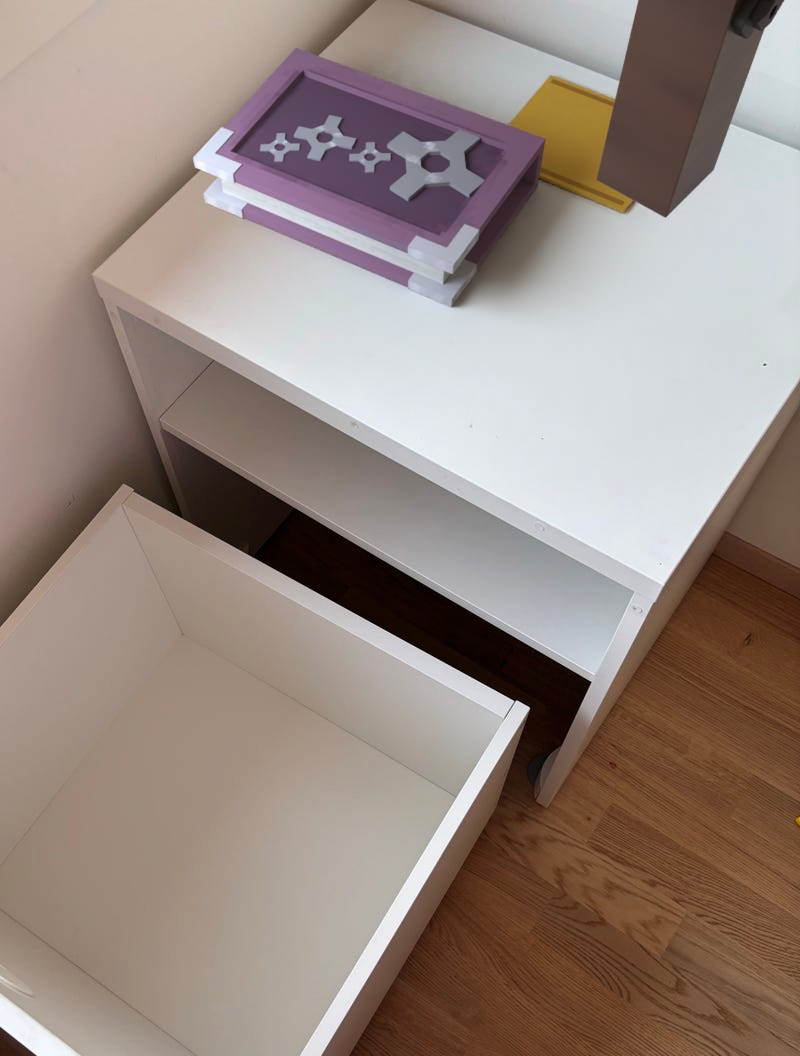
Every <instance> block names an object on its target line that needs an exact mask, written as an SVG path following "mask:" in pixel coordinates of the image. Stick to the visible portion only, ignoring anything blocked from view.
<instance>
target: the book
mask: <svg viewBox="0 0 800 1056" xmlns="http://www.w3.org/2000/svg"><path fill="white" fill-rule="evenodd" d="M544 145H545V138H542V137H539V136H537V135H534V134H531V133H528V132H526V131H523V130H520V129H517V128H515V127H512V126H509V124H507V123H503V122H501V121H498V120H495V119H492V118H490V117H488V116H484V115H481V114H480V113H476V112H474V111H471V110H467V109H465V108H463V107H460V106H456V105H454V104H451V103H449V102H446V101H443V100H440V99H438V98H435V97H432V96H429V95H427V94H423V93H421V92H418V91H415V90H413V89H410V88H407V87H405V86H402V85H399V84H397V83H395V82H391V81H389V80H385V79H383V78H380V77H376V76H374V75H372V74H369V73H366V72H364V71H361V70H357V69H355V68H353V67H349V66H347V65H344V64H342V63H338V62H335V61H333V60H330V59H328V58H326V57H322V56H319V55H316V54H313V53H312V52H308V51H307V50H303V49H300V48H296V47H295V48H294V49H293V50H292V51H291V52H290V54H288V56H287V57H286V58H285V59H284V60H283V61H282V62H281V64H280V65H278V67H277V68H276V69H275V70H274V71H273V72H272V73H271V74H270V75H269V77H268V78H266V80H265V81H264V82H263V83H262V85H261V86H259V88H257V90H256V91H255V92H254V93H253V94H252V95H251V96H250V97H249V99H247V100H246V102H245V103H244V104H243V105H242V106H241V107H240V109H239V110H238V111H237V112H236V113H235V114H234V115H233V116H232V117H231V118H230V119H229V121H228V122H227V123H226V124H225V125H224V126H220V128H219V129H218V130H217V131H216V132H215V133H214V134H213V135H212V137H211V138H210V139H209V140H208V141H207V142H206V143H205V144H204V145H203V146H202V147H201V148H200V150H199V151H197V153H196V154H195V155H194V156H193V157H192V160H193V164H194V168H195V169H198V170H200V171H203V172H205V173H208V174H210V175H212V176H214V177H217V178H215V180H213V182H212V183H211V184H210V185H209V186H208V188H206V190H205V191H204V192H203V194H202V195H203V199H204V200H203V201H204V203H206V204H208V205H211V206H213V207H215V208H216V209H220V210H222V211H223V212H226V213H229V214H232V215H233V216H236V217H239V218H240V219H246V220H249V221H250V222H251V221H252V222H253V223H257V224H258V225H261V226H263V227H265V228H268V229H270V230H272V231H275V232H277V233H280V234H281V235H284V236H286V237H289V238H291V239H293V240H296V241H298V242H301V243H303V244H305V245H308V246H310V247H312V248H314V249H317V250H319V251H322V252H324V253H326V254H329V255H330V256H334V257H336V258H338V259H341V260H343V261H345V262H348V263H350V264H353V265H355V266H357V267H359V268H361V269H364V270H366V271H369V272H371V273H374V274H376V275H378V276H380V277H382V278H385V279H388V280H390V281H392V282H394V283H397V284H399V285H402V286H405V287H406V288H407V289H409V290H411V291H413V292H415V293H417V294H420V295H422V296H424V297H427V298H429V299H431V300H433V301H436V302H438V303H440V304H443V305H444V306H448V307H449V308H452V307H453V306H454V304H455V303H456V302H457V300H458V299H459V297H460V296H461V295H462V293H463V292H464V290H465V289H466V287H467V286H468V285H469V283H470V282H471V281H472V279H473V278H474V276H475V275H476V274H477V271H478V269H479V268H480V267H481V265H482V264H483V263H484V262H485V259H486V258H487V257H488V256H489V254H490V253H491V252H492V251H493V249H494V247H495V246H496V244H497V243H498V242H499V240H500V239H501V237H502V236H503V234H504V233H505V232H506V231H507V229H509V226H510V225H511V224H512V223H513V221H514V220H515V218H516V217H517V215H518V214H519V213H520V211H521V210H522V208H524V206H525V205H526V203H527V202H528V200H529V199H530V198H531V196H532V194H534V192H535V191H536V189H537V188H538V186H539V181H540V178H539V175H540V169H541V163H542V157H543V151H544Z"/></svg>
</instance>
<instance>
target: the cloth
mask: <svg viewBox="0 0 800 1056" xmlns="http://www.w3.org/2000/svg"><path fill="white" fill-rule="evenodd" d="M614 102H615V98H612V97H610V96H607V95H604V94H601V93H599V92H596V91H593V90H592V89H589V88H586V87H583V86H581V85H579V84H575V83H573V82H570V81H568V80H566V79H562V78H560V77H557V76H555V75H552V74H550V75H549V76H548V77H547V79H546V80H545V81H544V82H543V83H542V84H541V86H540V87H539V88H537V90H536V92H534V94H533V95H532V96H531V97H530V98H529V100H528V101H527V102H526V103H525V104H524V105H523V107H522V108H521V109H520V110H519V112H518V113H517V114H516V115H515V116H514V117H513V118H512V120H511V121H510V122H508V125H509V126H512V127H515V128H517V129H520V130H523V131H526V132H528V133H531V134H534V135H537V136H539V137H542V138H545V145H544V151H543V157H542V163H541V169H540V175H539V180H543V181H544V182H547V183H549V184H552V185H554V186H557V187H559V188H562V189H564V190H566V191H569V192H571V193H573V194H576V195H578V196H581V197H583V198H586V199H588V200H590V201H593V202H595V203H597V204H600V205H602V206H604V207H608V208H609V209H612V210H614V211H617V212H619V213H621V214H625V213H626V212H627V210H628V209H629V208H630V206H631V205H632V204H633V202H635V201H634V200H632V199H630V198H628V197H627V196H625V195H623V194H621V193H619V192H618V191H616V190H614V189H612V188H610V187H608V186H607V185H605V184H603V183H601V182H599V181H598V180H597V175H598V170H599V166H600V162H601V158H602V153H603V149H604V145H605V141H606V136H607V132H608V128H609V123H610V119H611V115H612V111H613V106H614Z"/></svg>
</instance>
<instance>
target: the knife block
mask: <svg viewBox="0 0 800 1056" xmlns="http://www.w3.org/2000/svg"><path fill="white" fill-rule="evenodd" d="M743 1H744V0H638V1H637V4H636V8H635V12H634V17H633V21H632V24H631V25H632V26H631V30H630V34H629V38H628V41H627V47H626V51H625V55H624V58H623V59H624V60H623V63H622V69H621V73H620V76H619V80H618V86H617V88H616V89H617V90H616V93H615V98H614V99H615V102H614V106H613V111H612V115H611V119H610V123H609V128H608V132H607V136H606V141H605V145H604V149H603V153H602V158H601V162H600V166H599V170H598V175H597V180H598V181H599V182H601V183H603V184H605V185H607V186H608V187H610V188H612V189H614V190H616V191H618V192H619V193H621V194H623V195H625V196H627V197H628V198H630V199H632V200H634V201H633V202H635V203H638V204H640V205H641V206H643V207H645V208H646V209H647V210H650V211H652V212H654V213H655V214H658V215H659V216H661V217H663V218H668V217H669V215H670V214H671V213H672V212H673V211H675V209H677V207H678V206H679V205H681V203H683V201H684V200H686V198H687V197H689V195H690V194H691V193H693V192H694V191H695V189H697V187H699V186H700V185H701V184H702V182H704V181H705V179H707V177H708V176H710V175H711V173H713V172H714V171H715V167H716V165H717V162H718V159H719V156H720V154H721V151H722V148H723V145H724V144H725V143H724V142H725V140H726V137H727V134H728V131H729V129H730V126H731V123H732V121H733V117H734V115H735V112H736V109H737V107H738V104H739V101H740V98H741V96H742V93H743V89H744V88H745V84H746V82H747V79H748V76H749V74H750V71H751V68H752V66H753V62H754V60H755V57H756V54H757V51H758V49H759V46H760V43H761V40H762V37H763V34H764V32H765V29H764V30H763V31H760V30H757V29H755V30H754V32H753V33H752V35H751V36H750V37H749V38H748V39H745V38H743V37H741V36H739V35H737V34H735V32H734V30H733V28H732V22H733V19H734V17H735V15H736V13H737V12H738V10H739V8H740V6H741V5H742V3H743Z"/></svg>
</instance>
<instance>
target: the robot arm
mask: <svg viewBox="0 0 800 1056" xmlns="http://www.w3.org/2000/svg"><path fill="white" fill-rule="evenodd" d="M784 2H785V0H744V1H743V3H742V5H741V6H740V8H739V10H738V12H737V13H736V15H735V17H734V19H733V22H732V28H733V30H734V32H735V34H737V35H739V36H741V37H743V38H745V39H748V38H749V37H750V36H751V35H752V33H753V32H754V30H755V29H757V30H760V31H763V30H764V31H765V29H766V28H767V27H768V26H769V25H771V23H772V22H773V20H774V19H775V17H776V15H777V14H778V12H779V10H780V9H781V7H782V5H783V3H784Z"/></svg>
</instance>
